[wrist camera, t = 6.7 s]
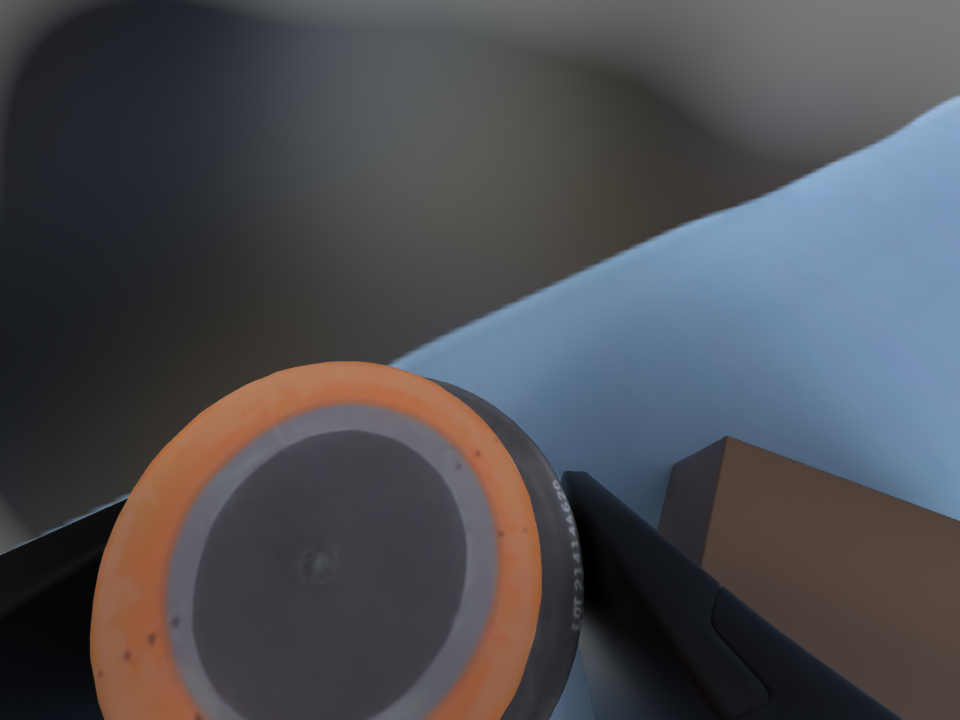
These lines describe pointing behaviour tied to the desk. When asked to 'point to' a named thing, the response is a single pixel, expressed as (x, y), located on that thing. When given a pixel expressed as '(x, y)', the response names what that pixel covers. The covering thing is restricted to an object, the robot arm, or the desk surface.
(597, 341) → the desk surface
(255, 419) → the pill bottle
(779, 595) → the block
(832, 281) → the desk surface
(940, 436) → the desk surface
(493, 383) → the desk surface
